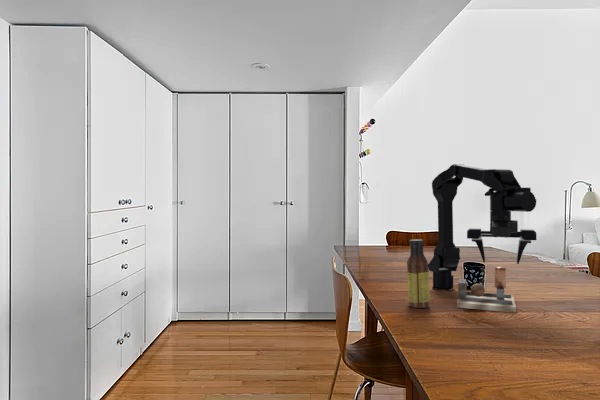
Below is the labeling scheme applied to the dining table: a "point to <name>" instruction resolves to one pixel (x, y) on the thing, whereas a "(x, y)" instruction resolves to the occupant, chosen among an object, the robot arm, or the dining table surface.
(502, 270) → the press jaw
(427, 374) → the dining table surface
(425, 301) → the sauce bottle
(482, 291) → the walnut
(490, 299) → the nutcracker board
